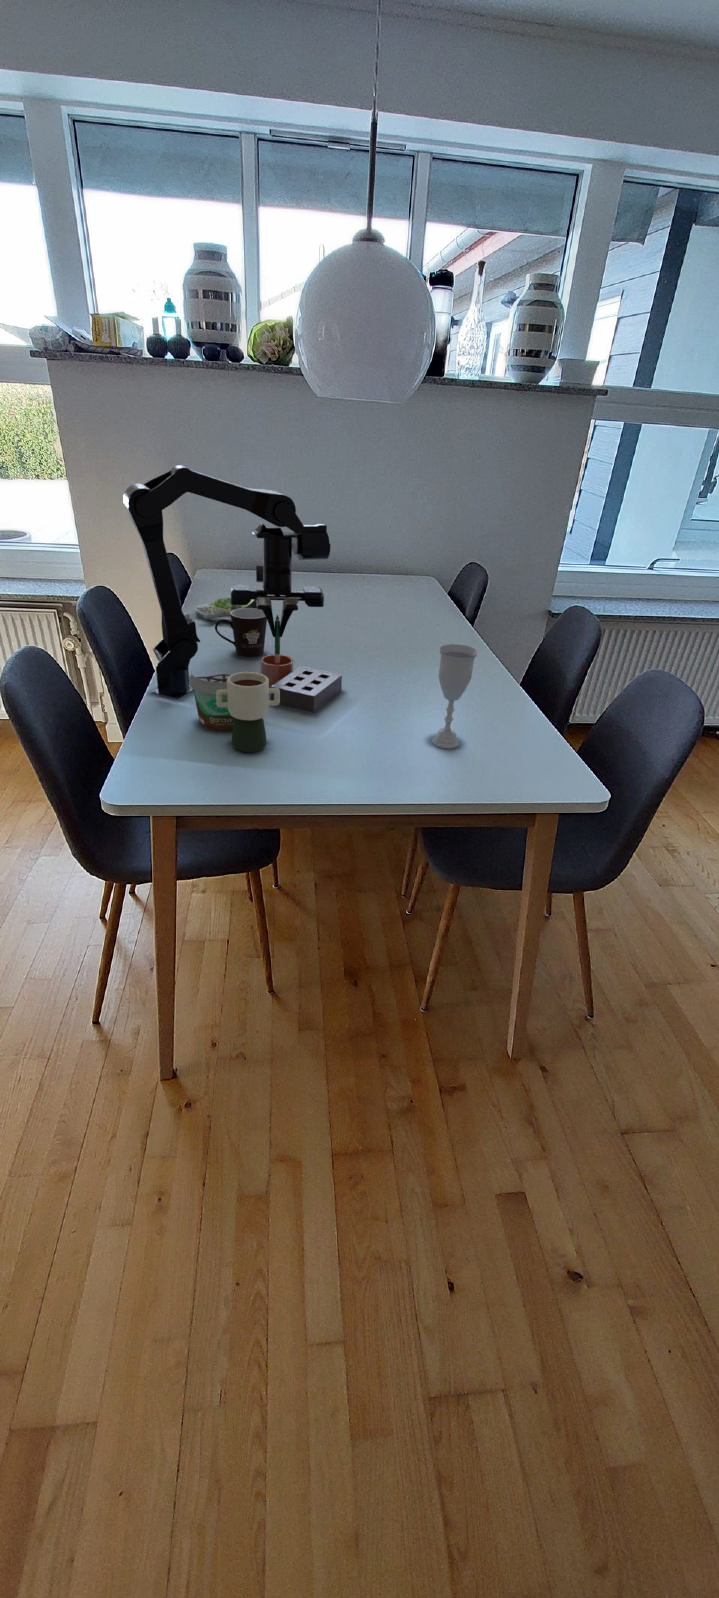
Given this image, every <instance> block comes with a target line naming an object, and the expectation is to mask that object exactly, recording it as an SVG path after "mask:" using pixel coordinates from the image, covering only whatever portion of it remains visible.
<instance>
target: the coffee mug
mask: <svg viewBox="0 0 719 1598" xmlns="http://www.w3.org/2000/svg"><path fill="white" fill-rule="evenodd" d="M230 615H231V621H229V620H226V619H222V620H219V621H218V622H215V625H214V630H215V633H216V634H217V635H218V636H219V637H220V638H222V639H223V640H224V641H227V642H229V643H230V644H232V645H233V646H234V648H235V653H236V655H237V656H239V657H243V658H258V657H261V656H263V655H264V651H265V642H266V633H267V624H268V621H267V618H266V616H265V614H264V612H263V611H262V610H259V609H255V608H240V609H235V610H232V611H231V612H230ZM221 623H227V624H228V625H229V626H230V628H231V629H232V634H233V640H232V639H230V638H228V637H226V636H224V635H223V634H221V633H220V632H219V629H218V626H219V624H221Z"/></svg>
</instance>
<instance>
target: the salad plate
mask: <svg viewBox="0 0 719 1598" xmlns="http://www.w3.org/2000/svg"><path fill="white" fill-rule="evenodd" d="M240 608H255V609H257V600H251V602H250V603H249V604H248V605H233V604H231V597H222V598H218V599H215V600H213V601H210V602H207V603H203V604H199V605H196V606H195V607H194V611H195V613H196V614H197V615H199V616H200V617H201V618H202V619H204V620H209V621H212V622H215V623H216V622H218V621H219V620H222V619H226V620H229V621H231V615H230V612H231V611H232V610H235V609H240Z"/></svg>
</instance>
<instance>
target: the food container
mask: <svg viewBox="0 0 719 1598" xmlns="http://www.w3.org/2000/svg"><path fill="white" fill-rule="evenodd" d="M251 672H254V671H253V670H251ZM230 675H231V674H226V673H224V674H223V673H221V674H214V675H208V676H194V675H193V673H192V672H190V675H189V686H190V687H192V689H194V690H193V695H194V701H195V705H196V711H197V716H198V722H199V725H200V726H202V727H203V728H205V729H207V730H209V731H213V732H222V733H223V732H224V733H225V732H226V733H227V732H232V731H233V722H234V719H235V718H234V717H233V716H231V714H230V712H229V710H228V707H221V708H220V707H217V704H216V691H217V690H219V689H227V679H228V677H229V676H230ZM222 702H228V699H227V695H222Z"/></svg>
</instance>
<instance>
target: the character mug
mask: <svg viewBox="0 0 719 1598" xmlns="http://www.w3.org/2000/svg"><path fill="white" fill-rule="evenodd" d="M229 675H230V676H229V677H228V679H227V689H219V690H217V691H216V704H217V707H220V708H221V707H228V710H229V712H230V714H231V716H233V717H234V718H235V719H234V722H233V731H231V745H232V747H233V748H234V749H236V750H238V751H241V752H244V753H256V752H258V751H260V750H263V749H264V748H265V747H267V743H268V740H267V732H266V726H265V721H264V718H265V717H266V716H267V715H268V713H269V710H270V707H276V706H280V705H279V703H280V690H279V689H278V688H271V687H270V686H269V679H268V678H267V677H266V676H265V675H262V674H261V672H260V673H259V672H256V671H255V672H254V671H253V672H252V671H241V672H240V671H239V672H235V673H232V674H229ZM271 693H274V700H273V701H271V700H270V694H271ZM222 695H227V699H228V702H222Z"/></svg>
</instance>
